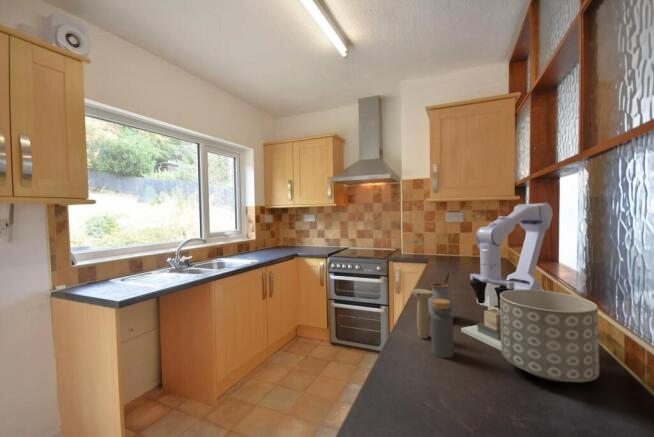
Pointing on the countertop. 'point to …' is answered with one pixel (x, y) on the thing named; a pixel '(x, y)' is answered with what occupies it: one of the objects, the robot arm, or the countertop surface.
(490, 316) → the oak post
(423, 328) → the handle
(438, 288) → the coffee pot
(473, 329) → the mounting board
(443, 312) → the bottle
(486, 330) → the grey square frame
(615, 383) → the countertop surface
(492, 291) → the cup
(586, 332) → the planter
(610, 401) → the countertop surface
